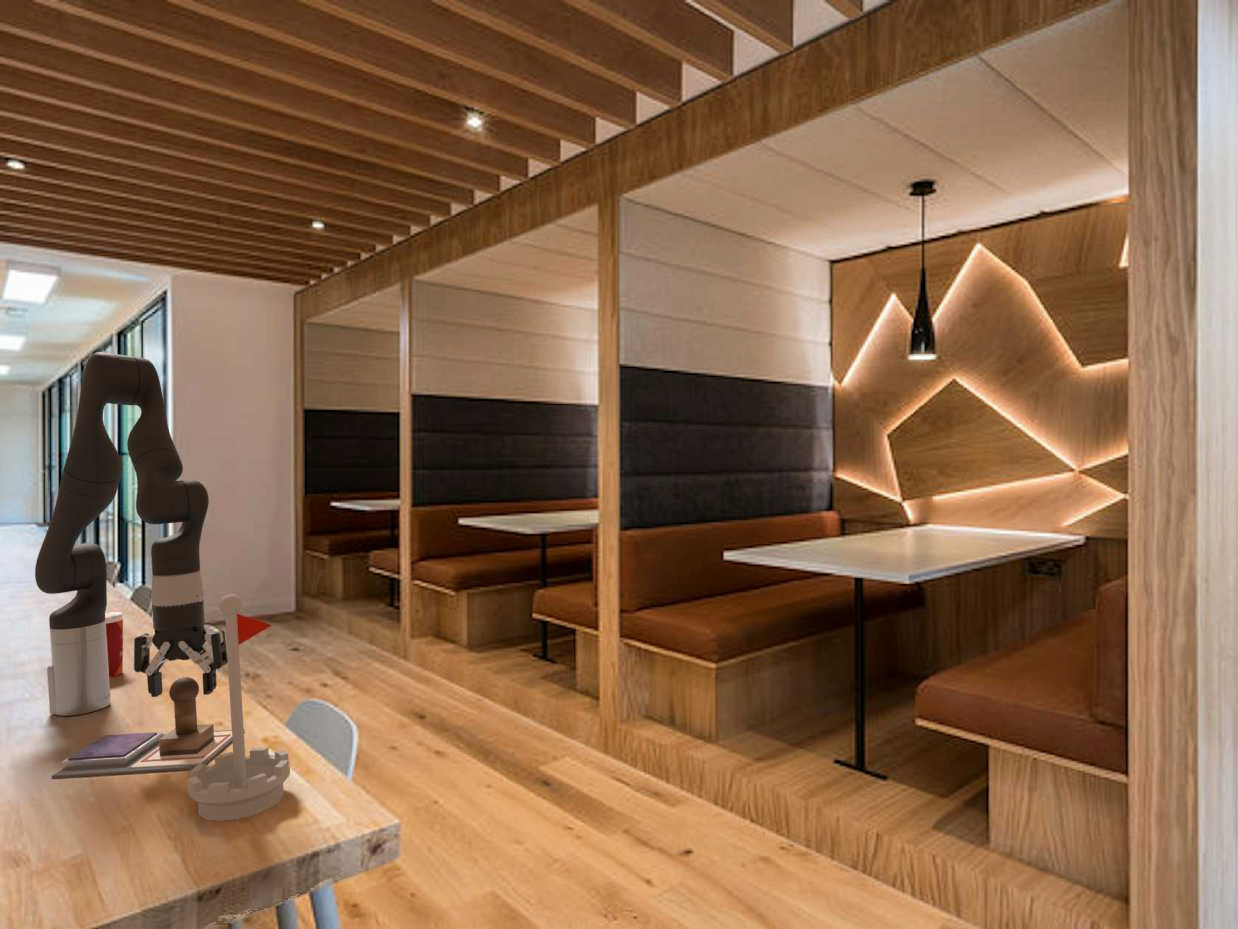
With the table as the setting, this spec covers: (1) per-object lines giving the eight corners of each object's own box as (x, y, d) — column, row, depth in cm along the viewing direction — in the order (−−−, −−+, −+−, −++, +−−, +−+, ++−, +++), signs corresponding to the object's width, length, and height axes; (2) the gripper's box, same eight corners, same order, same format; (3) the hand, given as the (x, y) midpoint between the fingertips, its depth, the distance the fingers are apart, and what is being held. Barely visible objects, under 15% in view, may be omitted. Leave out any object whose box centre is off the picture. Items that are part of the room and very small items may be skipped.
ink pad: (62, 769, 124) (61, 760, 124) (104, 742, 135) (103, 734, 135) (125, 765, 125) (125, 756, 124) (162, 739, 135) (162, 730, 135)
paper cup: (135, 670, 182) (132, 612, 182) (104, 680, 175) (100, 619, 175) (111, 668, 185) (107, 611, 185) (80, 678, 178) (76, 618, 177)
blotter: (51, 778, 122) (51, 774, 122) (113, 739, 138) (112, 735, 137) (200, 769, 123) (200, 764, 123) (244, 731, 139) (244, 727, 139)
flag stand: (184, 834, 102) (171, 608, 101) (195, 794, 114) (182, 592, 113) (291, 811, 107) (279, 596, 106) (290, 775, 119) (280, 582, 118)
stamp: (159, 756, 127) (155, 684, 127) (178, 742, 133) (174, 673, 133) (197, 754, 127) (192, 682, 127) (214, 740, 133) (210, 671, 133)
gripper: (121, 606, 125) (126, 704, 126) (210, 602, 126) (215, 700, 127) (147, 596, 133) (152, 689, 133) (231, 593, 134) (236, 685, 134)
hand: (183, 694), depth 130 cm, fingers open, 8 cm apart
